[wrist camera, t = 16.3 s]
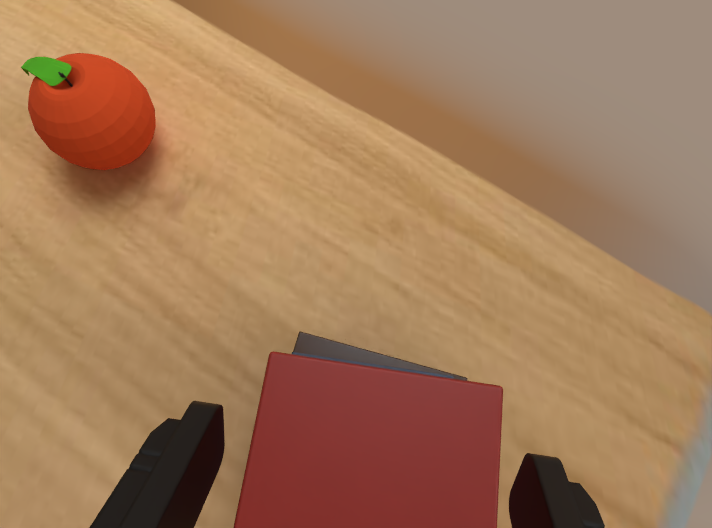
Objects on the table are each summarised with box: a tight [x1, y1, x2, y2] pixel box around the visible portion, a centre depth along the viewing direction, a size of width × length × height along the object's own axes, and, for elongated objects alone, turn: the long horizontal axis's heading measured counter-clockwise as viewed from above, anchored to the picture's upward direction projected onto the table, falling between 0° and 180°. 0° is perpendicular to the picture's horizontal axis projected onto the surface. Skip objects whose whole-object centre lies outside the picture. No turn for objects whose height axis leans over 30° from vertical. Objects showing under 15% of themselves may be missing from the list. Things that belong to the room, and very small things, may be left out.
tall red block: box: [234, 352, 503, 528], centre depth 14 cm, size 5×5×10 cm
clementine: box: [21, 53, 155, 170], centre depth 29 cm, size 8×7×7 cm
